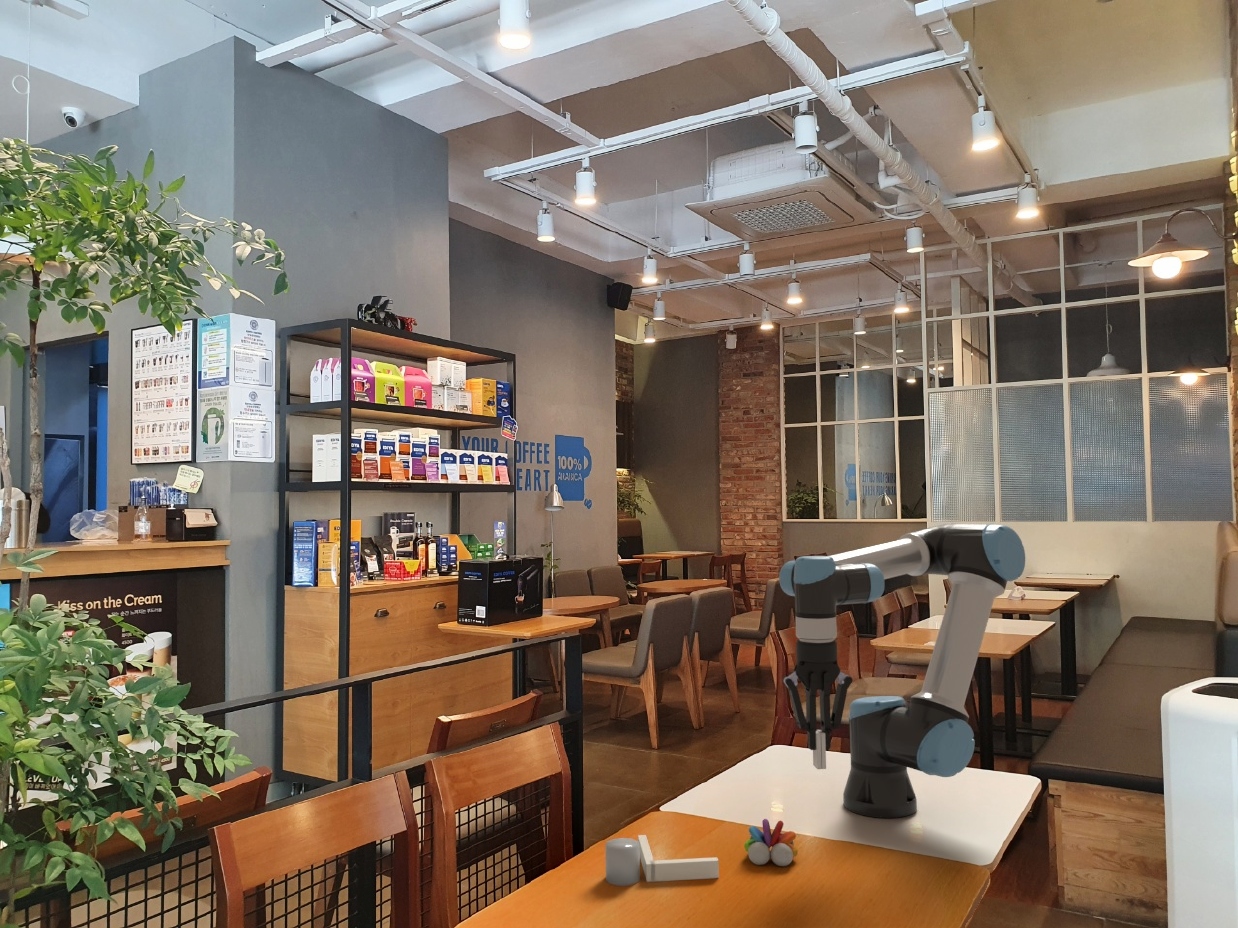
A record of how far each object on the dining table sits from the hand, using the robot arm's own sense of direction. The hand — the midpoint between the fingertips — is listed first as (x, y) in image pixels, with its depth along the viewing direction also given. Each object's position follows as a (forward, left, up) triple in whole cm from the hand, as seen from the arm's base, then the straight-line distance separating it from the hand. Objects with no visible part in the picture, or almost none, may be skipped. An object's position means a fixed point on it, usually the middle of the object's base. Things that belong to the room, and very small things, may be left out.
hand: (819, 766), depth 170 cm
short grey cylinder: (+37, +5, -16) cm, 41 cm away
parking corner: (+26, 0, -16) cm, 31 cm away
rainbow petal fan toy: (+10, 0, -17) cm, 19 cm away
